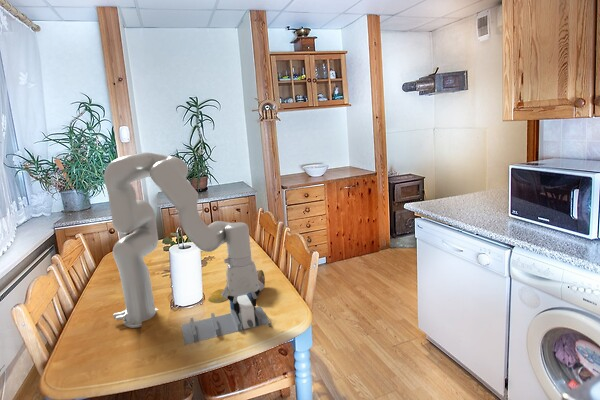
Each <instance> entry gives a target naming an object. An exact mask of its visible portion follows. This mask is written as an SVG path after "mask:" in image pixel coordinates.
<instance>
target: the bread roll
mask: <svg viewBox="0 0 600 400" xmlns="http://www.w3.org/2000/svg"><path fill="white" fill-rule="evenodd" d="M224 289H225V288H218V289H216V290H214V291H213V292H212V293H211V295H210V296H209V297H208V298H207V300H208V302H210V303H214V304H215V303H216V304H217V303H222V302H225V301H227V300H228V299H227V298H225V297H223V296H222V292H223V290H224ZM227 294H229V291H228V293H227Z"/></svg>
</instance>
